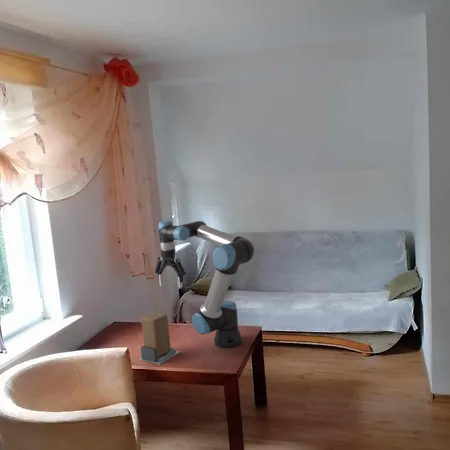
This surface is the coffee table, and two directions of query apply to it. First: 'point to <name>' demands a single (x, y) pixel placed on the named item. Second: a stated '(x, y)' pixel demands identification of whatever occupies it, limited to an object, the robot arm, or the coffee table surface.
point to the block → (156, 332)
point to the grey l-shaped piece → (151, 355)
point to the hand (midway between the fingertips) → (171, 286)
